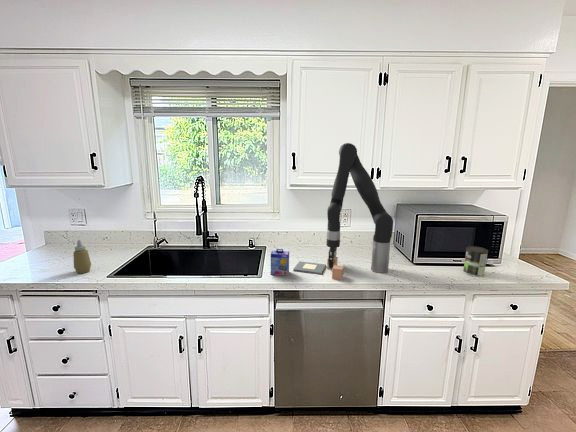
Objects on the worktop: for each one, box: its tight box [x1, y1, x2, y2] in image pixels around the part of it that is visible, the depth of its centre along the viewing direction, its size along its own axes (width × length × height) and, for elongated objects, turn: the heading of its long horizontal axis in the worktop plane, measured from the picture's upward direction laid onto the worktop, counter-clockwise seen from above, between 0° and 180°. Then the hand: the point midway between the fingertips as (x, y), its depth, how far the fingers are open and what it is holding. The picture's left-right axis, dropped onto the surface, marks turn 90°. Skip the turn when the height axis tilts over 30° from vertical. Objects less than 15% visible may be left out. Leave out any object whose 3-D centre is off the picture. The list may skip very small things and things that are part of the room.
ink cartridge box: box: [270, 248, 290, 276], centre depth 170 cm, size 10×6×14 cm, turn 86°
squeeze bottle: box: [73, 239, 92, 275], centre depth 169 cm, size 8×8×18 cm
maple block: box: [326, 256, 339, 270], centre depth 179 cm, size 5×5×6 cm
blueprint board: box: [292, 260, 327, 275], centre depth 178 cm, size 16×13×1 cm
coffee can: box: [462, 245, 489, 278], centre depth 172 cm, size 10×10×14 cm
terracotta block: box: [331, 264, 344, 281], centre depth 165 cm, size 5×5×6 cm
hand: (332, 265), depth 179 cm, fingers open, 7 cm apart
